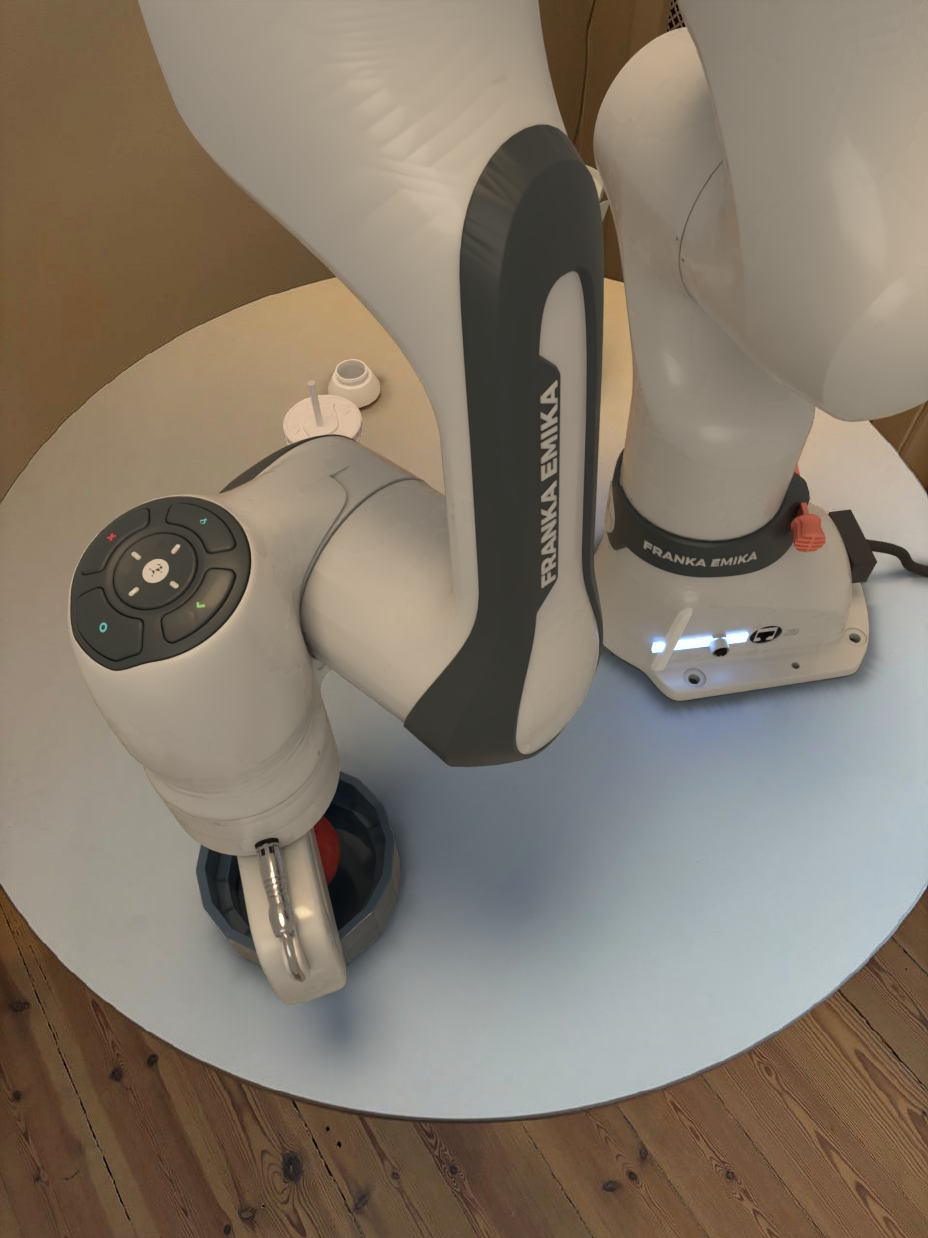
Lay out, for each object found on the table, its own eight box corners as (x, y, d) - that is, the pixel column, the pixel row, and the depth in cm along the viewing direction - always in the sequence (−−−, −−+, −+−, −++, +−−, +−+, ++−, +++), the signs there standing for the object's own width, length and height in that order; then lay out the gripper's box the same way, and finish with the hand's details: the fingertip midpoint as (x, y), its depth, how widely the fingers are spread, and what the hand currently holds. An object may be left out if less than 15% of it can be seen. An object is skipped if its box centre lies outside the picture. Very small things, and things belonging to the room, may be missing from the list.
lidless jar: (354, 418, 87) (391, 391, 89) (351, 395, 84) (388, 367, 86) (318, 395, 89) (355, 369, 91) (313, 371, 86) (351, 344, 88)
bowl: (407, 800, 65) (400, 766, 60) (393, 981, 58) (384, 958, 53) (236, 795, 65) (217, 762, 61) (202, 974, 58) (178, 951, 54)
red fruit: (332, 927, 58) (313, 887, 52) (246, 909, 59) (216, 867, 52) (357, 841, 61) (341, 792, 55) (275, 825, 62) (250, 775, 56)
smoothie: (292, 523, 79) (258, 400, 68) (315, 470, 83) (288, 344, 71) (362, 535, 79) (340, 413, 67) (383, 481, 82) (366, 356, 70)
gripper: (358, 941, 41) (386, 1008, 52) (272, 592, 52) (311, 709, 64) (218, 987, 40) (278, 1044, 51) (161, 621, 51) (220, 734, 63)
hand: (295, 856), depth 58 cm, fingers closed on red fruit, 6 cm apart
